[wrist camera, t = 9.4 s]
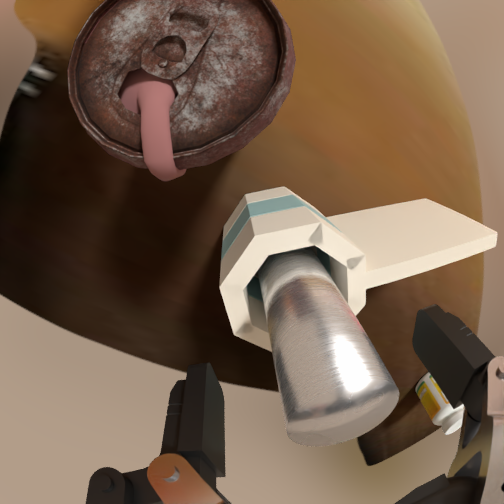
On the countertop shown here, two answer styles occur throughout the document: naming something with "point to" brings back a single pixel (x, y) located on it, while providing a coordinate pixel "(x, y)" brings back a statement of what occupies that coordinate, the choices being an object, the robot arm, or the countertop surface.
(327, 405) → the hinge pin
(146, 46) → the can
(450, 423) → the supplement bottle
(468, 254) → the white hinge leaf
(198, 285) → the countertop surface
